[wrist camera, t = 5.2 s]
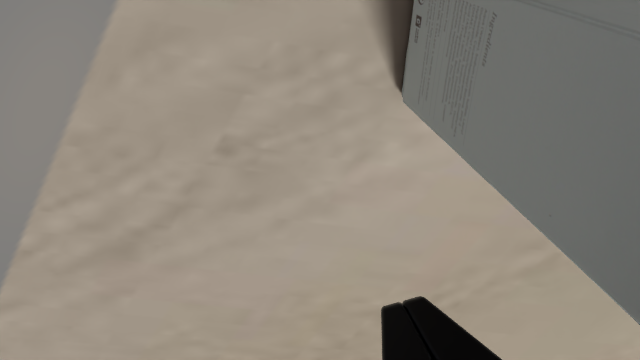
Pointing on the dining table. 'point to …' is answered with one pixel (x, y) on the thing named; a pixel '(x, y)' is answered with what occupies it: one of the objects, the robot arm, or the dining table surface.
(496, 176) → the skincare box
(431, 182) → the dining table surface
